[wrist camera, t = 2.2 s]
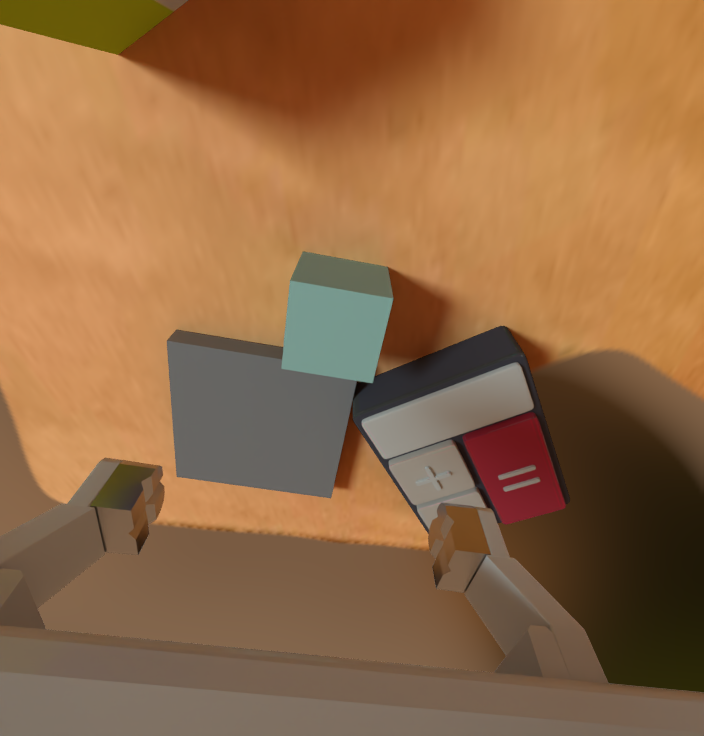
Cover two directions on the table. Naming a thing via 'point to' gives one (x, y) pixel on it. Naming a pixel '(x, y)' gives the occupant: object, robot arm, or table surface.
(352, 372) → the teal cube
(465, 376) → the calculator
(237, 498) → the table surface
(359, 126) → the table surface
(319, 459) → the slate coaster
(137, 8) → the puzzle toy
